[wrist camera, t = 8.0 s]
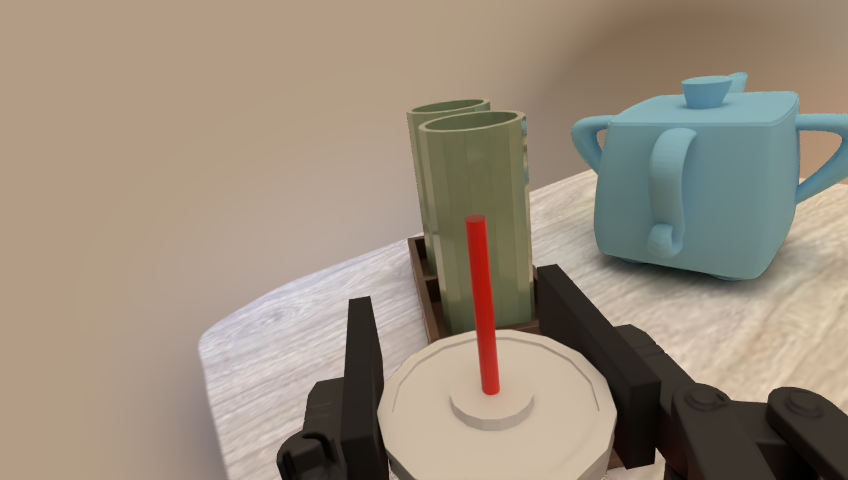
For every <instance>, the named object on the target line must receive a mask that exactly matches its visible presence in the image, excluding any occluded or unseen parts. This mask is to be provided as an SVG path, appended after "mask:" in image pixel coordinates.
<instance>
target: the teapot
mask: <svg viewBox="0 0 848 480" xmlns="http://www.w3.org/2000/svg"><path fill="white" fill-rule="evenodd" d="M746 80H747V74H746V73H744V72H743V73H741V72H740V73H734V74H731V75H729V76H706V77H697V78H691V79H687V80H685V81H683V82H681V85H682V90H683V93H684V95H664V96H657V97H654V98H651V99H648V100H646V101H644V102H641V103H639V104H636V105H635V106H633V107H630V108H629V109H627V110H625V111H623V112H621V113H620V114H618V115H607V116H593V117H588V118H584V119H582V120H579V121H578V122H577V123H575V124H574V125H573V127H572V130H571V136H572V141H573V143H574V145H575V147H576V149H577V151H578V152H579V154H580V156H581V157H582V158H583V159H584V160H585V162H586V163H587V164H588V165H589V166H590V167H591V168H592V169H593V170H594V171H595V173H596V174H597V175H598V180H597V187H596V197H595V208H594V232H595V237H596V241H597V245H598V247H599V250H600V252H602V253H604V254H608V255H612V256H617V257H620V258H621V259H622V260H624V261H627V262H632V263H645V262H648V263H653V264H658V265H663V266H669V267H675V268H680V269H686V270H692V271H697V272H703V273H708V274H709V275H711V276H713V277H715V278H719V279H723V280H742V279H754V278H757V277H759V276H760V275H761V274H762V273H763V272H764V271H765V270H766V269H767V267H768V266H769V265H770V263H771V262H772V260H773V258H774V257H775V255H776V254H777V252H778V250H779V249H780V247H781V245H782V243H783V241H784V240H785V238H786V236H787V234H788V232H789V229H790V227H791V224H792V221H793V218H794V214H795V208H796V205H797V204H799V203H800V202H802V201H804V200H806V199H808V198H810V197H812V196H814V195H816V194H818V193H820V192H822V191H824V190H825V189H827V188H829V187H831V186H833V185H834V184H836V183H838V182H840V181H841V180H843V179H845V178H847V177H848V114H842V113H841V114H839V113H818V114H800V113H799V112H800V109H799V96H798V95H797V93H795V92H793V91H778V92H777V91H776V92H747V93H746V92H745V93H744V89H745V84H746ZM603 129H607V132H606V136H605V141H604V146H603V151H602V150H601V148H600V146H599V144H598V142H597V138H596V135H597V132H598V131H600V130H603ZM800 130H817V131H827V132H833V133H837V134H839V135H840V136H841V137H842V143H841V145H840V147H839V149H838V150H837V151H836V153H835V154H834V155H833V156H832V157H831V158H830V159H829V160H828V161H827V162H826V163H825V164H824V165H823V166H822V167H821V168H820V169H819V170H818V171H817V172H815V173H814V174H813V175H812V176H810V177H809V178H808V179H806V180H805V181H804V182H802V183H801V184H800V185H799V174H800Z"/></svg>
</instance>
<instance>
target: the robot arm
mask: <svg viewBox="0 0 848 480" xmlns="http://www.w3.org/2000/svg"><path fill="white" fill-rule="evenodd" d="M537 287H538V313H539V330H540V332H541V334H542V335H543V336H545V337H548V338H550V339H552V340H554V341H556V342H559V343H561V344H563V345H565V346H567V347H569V348H571V349H573V350H575V351H577V352H579V353H581V354H582V355H583V356H584V357H585V358H586V359H587V360H588V361H589V362H590V363H591V364H592V365H593V366H594V367H595V368H596V369H597V370H598V371H599V372H600V373H601V374H602V375H603V376H604V377H605V379H606V381H607V384H608V387H609V390H610V393H611V396H612V399H613V402H614V405H615V407H616V410H617V422H616V426H615V430H614V435H615V438H614V442H613V446H612V447H613V449H614V450H615V452H616V454H617V455H618V457H619V458H620V460H621V462H622V463H623V465H624V466H625V468H626V469H631V468H636V467H641V466H646V465H651V464H654V462H655V451H656V448H657V449H658V450H659V452H660V453H661V454H662V456H663V457H664V459H665V460H666V462H665V472H664V480H848V416H847V415H846V414H845V413H844V412H842V411H841V410H840V409H839V408H838V407H836V406H835V405H834V404H833V403H832V402H830V401H829V400H827V399H825V398H824V397H822V396H821V395H819V394H816V393H814V392H811V391H809V390H806V389H801V388H796V387H780V388H777V389H774V390H773V391H772V392H771V393H770V394H769V396H768V401H767V403H760V402H742V401H733V400H731V399H730V398H729V397H728V396H727V395H726V394H725V393H723V392H722V391H720V390H719V389H717V388H714V387H712V386H709V385H706V384H701V383H696V382H695V381H694V380H693V379H692V378H691V377H690V376H689V375H688V374H687V373H686V372H685V371H684V370H683V369H682V368H681V367H680V366H679V365H678V364H677V363H676V362H675V361H674V360H673V359H672V358H671V357H670V356H669V355H668V354H667V353H665V352H664V350H663V349H662V348H661V347H660V346H659V345H656V342H655V341H654V340H653V339H652V338H651V337H650V336H649V335H648V334H647V333H646V332H644V331H642V330H640V329H638V328H636V327H634V326H633V325H631V324H628V325H622V326H617V327H613V326H612V325H611V324H610V322H609V321H608V320H607V319H606V318H605V317H604V316H603V315H602V314H601V312H600V311H599V310H598V309H597V308H596V307H595V306H594V305H593V304H592V302H591V301H590V300H589V299H588V298H587V297H586V296H585V295H584V294H583V293H582V291H581V290H580V289H579V288H578V287H577V286H576V285H575V284H574V283H573V281H572V280H571V279H570V278H569V277H568V276H567V275H566V274H565V273H564V271H563V270H562V269H561V268H560V267H559V266H558V265H557V264H554V265H548V266H542V267H537ZM383 391H384V378H383V360H382V353H381V348H380V343H379V338H378V333H377V328H376V323H375V318H374V313H373V308H372V303H371V298H370V296H367V297H361V298H355V299H349V308H348V324H347V339H346V355H345V370H344V377H341V378H335V379H330V380H324V381H319V382H317V383H316V384H315V386H314V387H313V389H312V390H311V392H310V393H309V395H308V400H307V406H306V412H305V418H304V420H305V422H304V424H303V430H302V431H300V432H298V433H296V434H294V435H292V436H291V437H289V438H288V439H287V440H286V441H285V442H284V443H283V444H282V446H281V447H280V449H279V451H278V453H277V462H276V463H277V466H278V469H279V472H280V475H281V477H282V480H389V465H388V456H387V454H386V450H385V446H384V442H383V437H382V433H381V429H380V425H379V421H378V416H377V411H378V407H379V404H380V401H381V397H382V394H383Z"/></svg>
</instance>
